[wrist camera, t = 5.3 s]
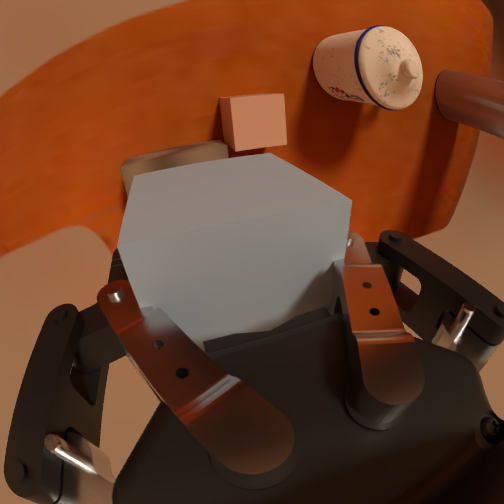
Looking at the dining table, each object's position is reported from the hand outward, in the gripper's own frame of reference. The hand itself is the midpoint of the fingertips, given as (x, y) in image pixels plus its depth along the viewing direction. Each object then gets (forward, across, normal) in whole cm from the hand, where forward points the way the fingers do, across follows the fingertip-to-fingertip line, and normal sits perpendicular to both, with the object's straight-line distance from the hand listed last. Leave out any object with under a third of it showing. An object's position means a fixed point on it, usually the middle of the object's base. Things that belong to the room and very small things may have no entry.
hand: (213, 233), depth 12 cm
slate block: (+1, 0, 0) cm, 1 cm away
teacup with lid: (+18, -21, -10) cm, 29 cm away
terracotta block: (+18, -7, -3) cm, 20 cm away
